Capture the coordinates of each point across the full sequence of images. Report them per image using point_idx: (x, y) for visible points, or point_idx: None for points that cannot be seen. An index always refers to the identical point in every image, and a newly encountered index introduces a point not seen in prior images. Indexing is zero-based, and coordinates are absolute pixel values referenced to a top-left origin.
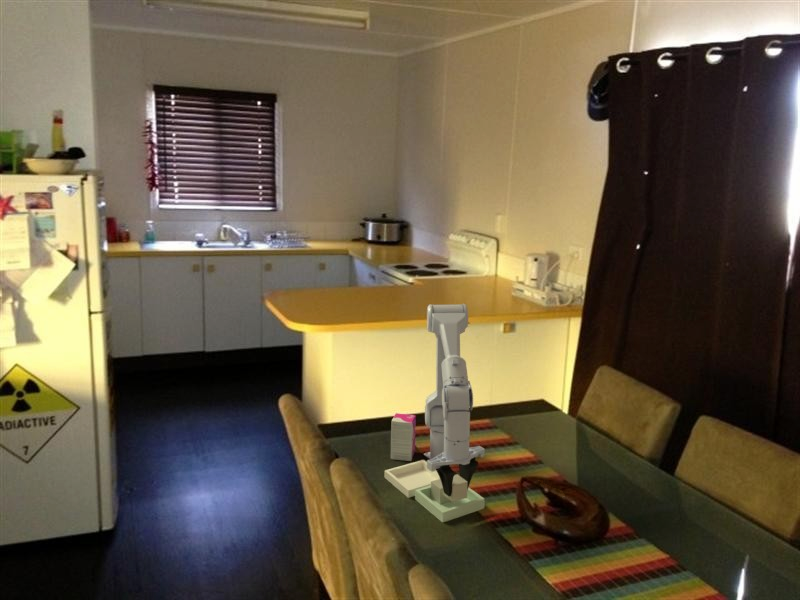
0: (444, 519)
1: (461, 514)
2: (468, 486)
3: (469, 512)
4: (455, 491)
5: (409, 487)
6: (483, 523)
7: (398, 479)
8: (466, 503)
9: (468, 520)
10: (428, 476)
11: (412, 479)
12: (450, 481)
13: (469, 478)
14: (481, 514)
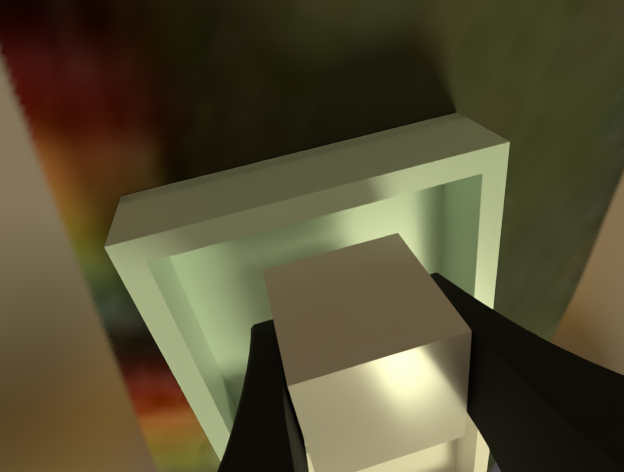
0: (459, 127)
1: (321, 159)
2: (255, 349)
3: (252, 173)
4: (409, 293)
5: None
6: (182, 33)
7: (477, 461)
8: (284, 215)
9: (279, 111)
10: None
11: (382, 466)
12: (550, 368)
13: (262, 422)
14: (157, 157)
